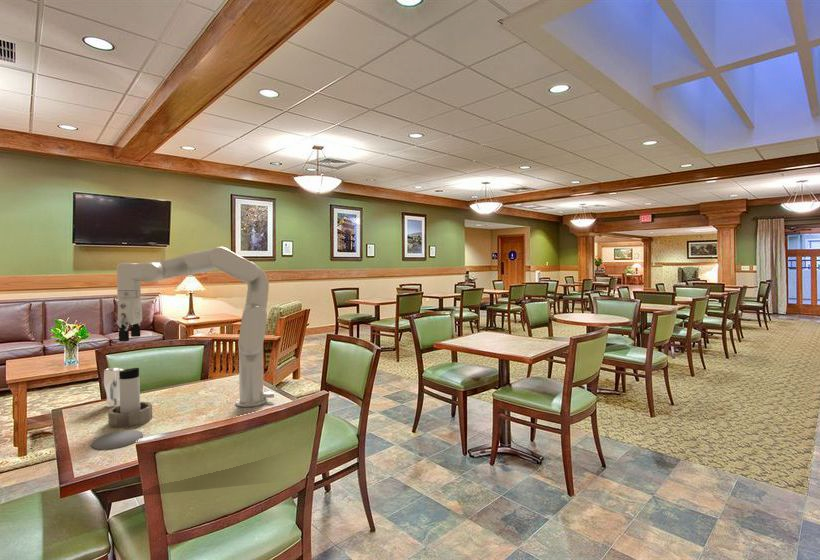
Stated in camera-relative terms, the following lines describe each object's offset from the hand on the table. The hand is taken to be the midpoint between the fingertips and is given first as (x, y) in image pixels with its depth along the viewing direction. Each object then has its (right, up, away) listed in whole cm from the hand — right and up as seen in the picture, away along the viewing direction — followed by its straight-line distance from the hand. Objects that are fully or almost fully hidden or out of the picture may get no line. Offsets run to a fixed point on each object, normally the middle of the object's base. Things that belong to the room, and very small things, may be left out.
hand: (130, 338), depth 164 cm
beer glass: (-14, -29, +12) cm, 35 cm away
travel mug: (+4, -30, -5) cm, 31 cm away
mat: (+11, -31, -22) cm, 39 cm away
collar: (+4, -30, -5) cm, 31 cm away
